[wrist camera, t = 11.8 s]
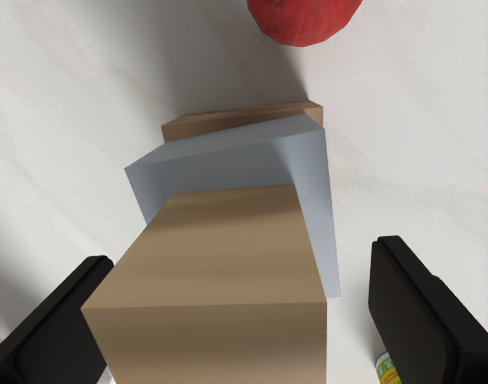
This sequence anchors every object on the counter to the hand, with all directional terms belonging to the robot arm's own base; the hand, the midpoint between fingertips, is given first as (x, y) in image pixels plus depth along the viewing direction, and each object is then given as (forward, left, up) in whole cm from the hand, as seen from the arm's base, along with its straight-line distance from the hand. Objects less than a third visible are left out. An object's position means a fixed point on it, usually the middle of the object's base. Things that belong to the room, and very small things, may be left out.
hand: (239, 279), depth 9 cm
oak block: (0, 0, -2) cm, 2 cm away
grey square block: (0, 0, -7) cm, 7 cm away
